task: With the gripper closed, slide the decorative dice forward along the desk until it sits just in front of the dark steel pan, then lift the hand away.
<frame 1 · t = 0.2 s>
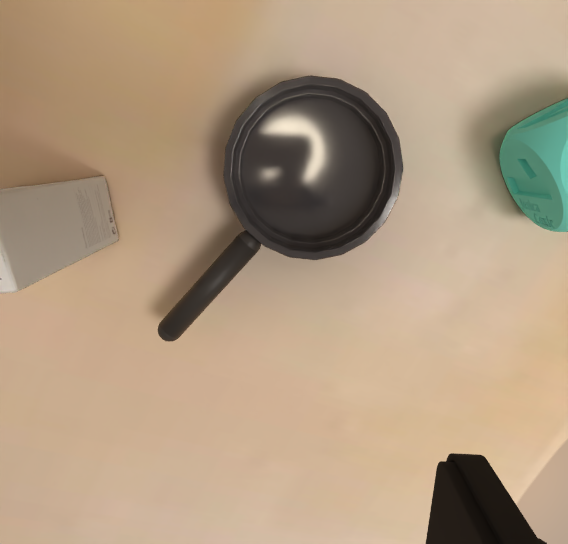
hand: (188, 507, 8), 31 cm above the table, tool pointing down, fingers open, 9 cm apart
cosmetic box: (68, 215, 39), on the table
pan: (310, 170, 37), on the table
decorative dice: (548, 159, 37), on the table
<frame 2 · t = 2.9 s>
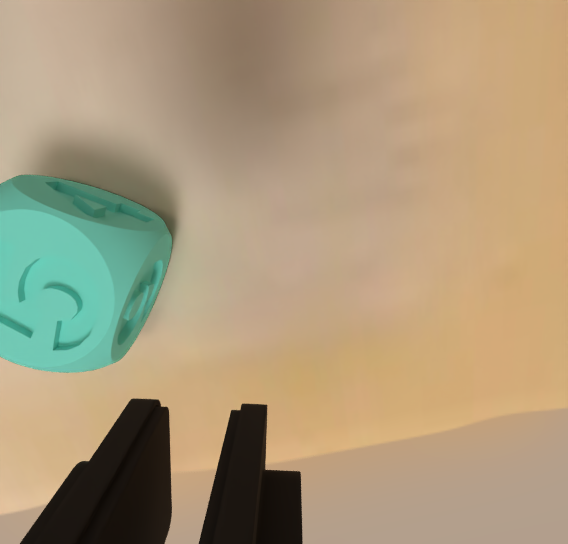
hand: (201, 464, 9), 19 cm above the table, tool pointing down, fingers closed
decorative dice: (106, 254, 28), on the table
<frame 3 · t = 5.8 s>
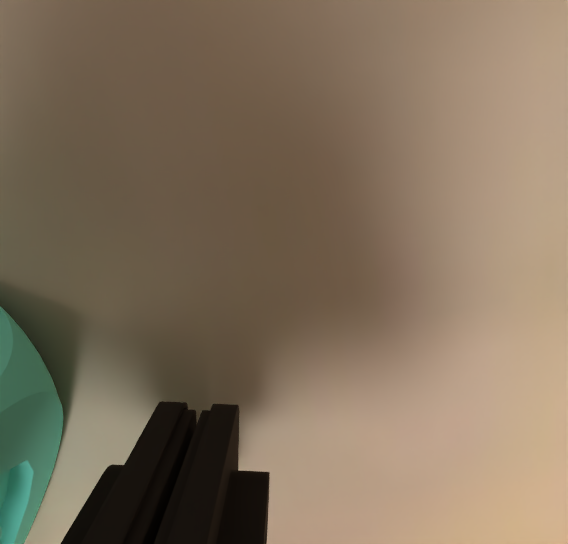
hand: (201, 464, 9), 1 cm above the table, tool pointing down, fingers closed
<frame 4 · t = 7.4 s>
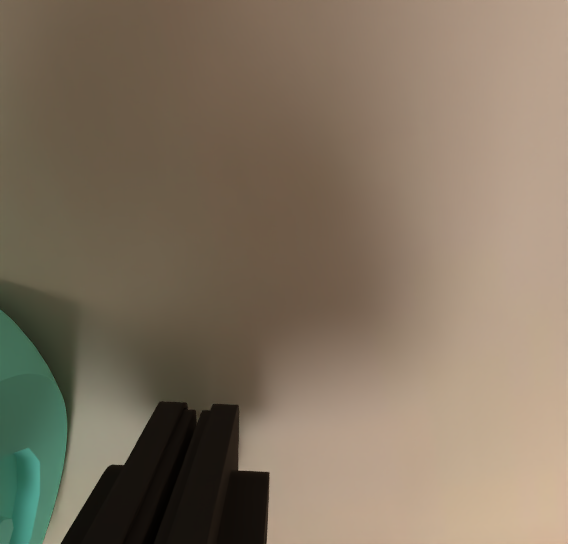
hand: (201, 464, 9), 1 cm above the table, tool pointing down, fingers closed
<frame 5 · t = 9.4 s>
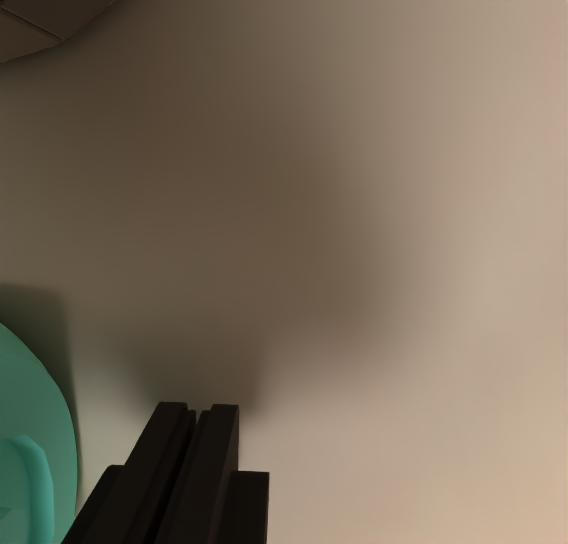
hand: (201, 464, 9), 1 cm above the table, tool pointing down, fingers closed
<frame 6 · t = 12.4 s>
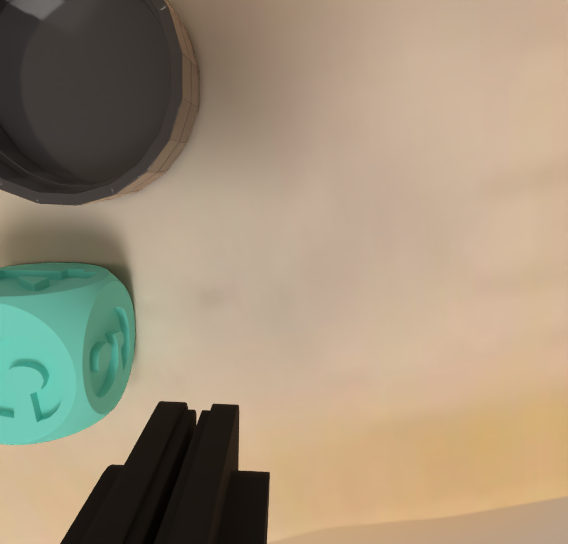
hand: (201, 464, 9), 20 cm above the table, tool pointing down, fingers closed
pan: (88, 85, 26), on the table
decorative dice: (77, 319, 30), on the table
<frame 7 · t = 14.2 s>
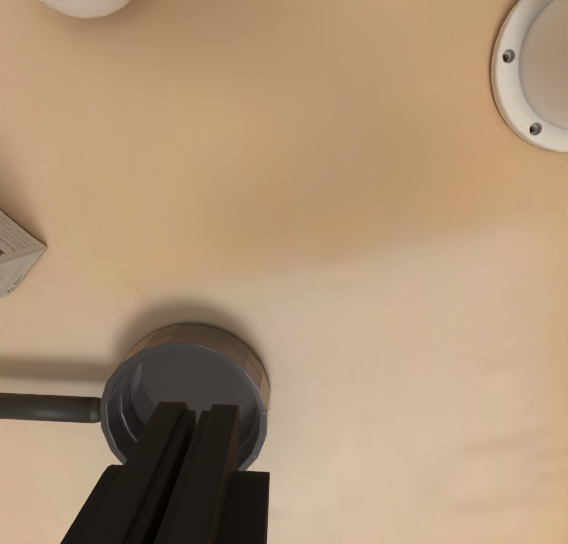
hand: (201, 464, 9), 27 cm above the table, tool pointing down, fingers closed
pan: (195, 391, 39), on the table
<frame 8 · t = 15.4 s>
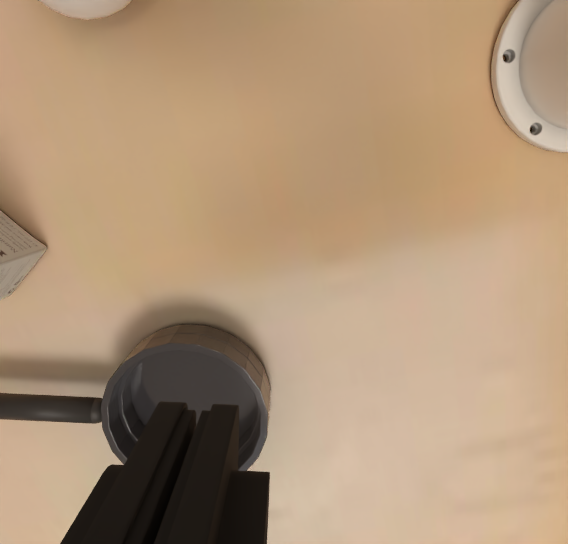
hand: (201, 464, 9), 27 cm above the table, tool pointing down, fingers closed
pan: (196, 392, 39), on the table
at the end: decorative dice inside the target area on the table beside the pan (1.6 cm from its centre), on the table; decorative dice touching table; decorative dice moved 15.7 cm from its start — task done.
